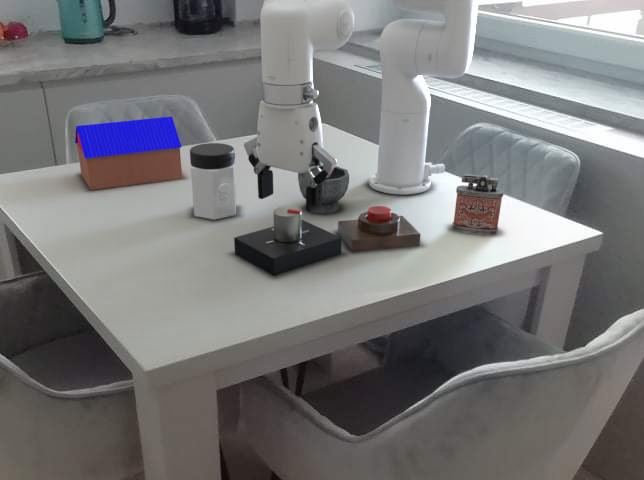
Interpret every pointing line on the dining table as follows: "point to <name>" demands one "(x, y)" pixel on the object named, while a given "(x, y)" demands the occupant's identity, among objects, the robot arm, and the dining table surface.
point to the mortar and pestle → (328, 189)
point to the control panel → (287, 249)
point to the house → (129, 152)
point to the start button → (379, 214)
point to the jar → (213, 180)
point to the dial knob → (287, 224)
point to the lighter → (478, 205)
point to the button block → (378, 233)
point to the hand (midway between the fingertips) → (289, 202)
